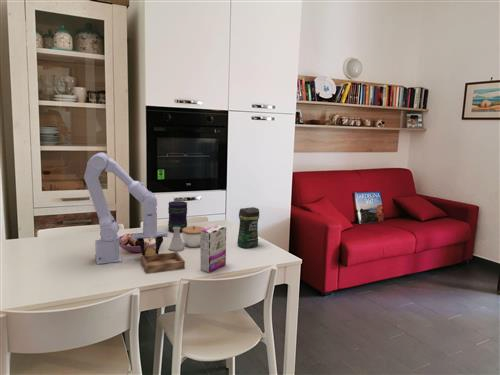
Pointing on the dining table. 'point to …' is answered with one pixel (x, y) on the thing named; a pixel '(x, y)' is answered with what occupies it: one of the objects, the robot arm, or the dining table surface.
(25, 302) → the dining table surface
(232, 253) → the dining table surface
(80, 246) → the dining table surface
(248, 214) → the coffee jar
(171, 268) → the tray
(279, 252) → the dining table surface
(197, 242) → the lidded jar
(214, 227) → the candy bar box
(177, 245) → the flask
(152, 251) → the ball
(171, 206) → the storage jar
